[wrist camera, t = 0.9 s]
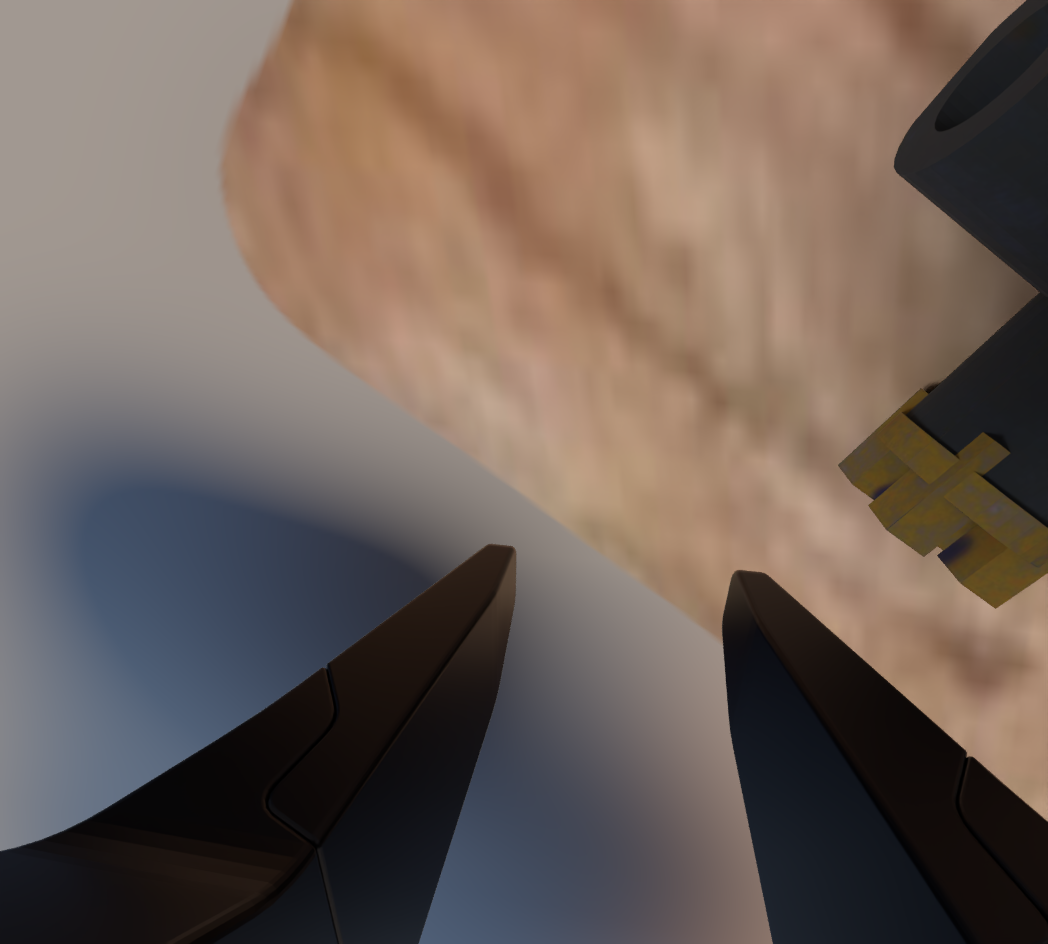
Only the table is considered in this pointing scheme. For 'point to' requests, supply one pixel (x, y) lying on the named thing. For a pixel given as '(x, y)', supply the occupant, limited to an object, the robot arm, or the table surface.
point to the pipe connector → (1005, 358)
